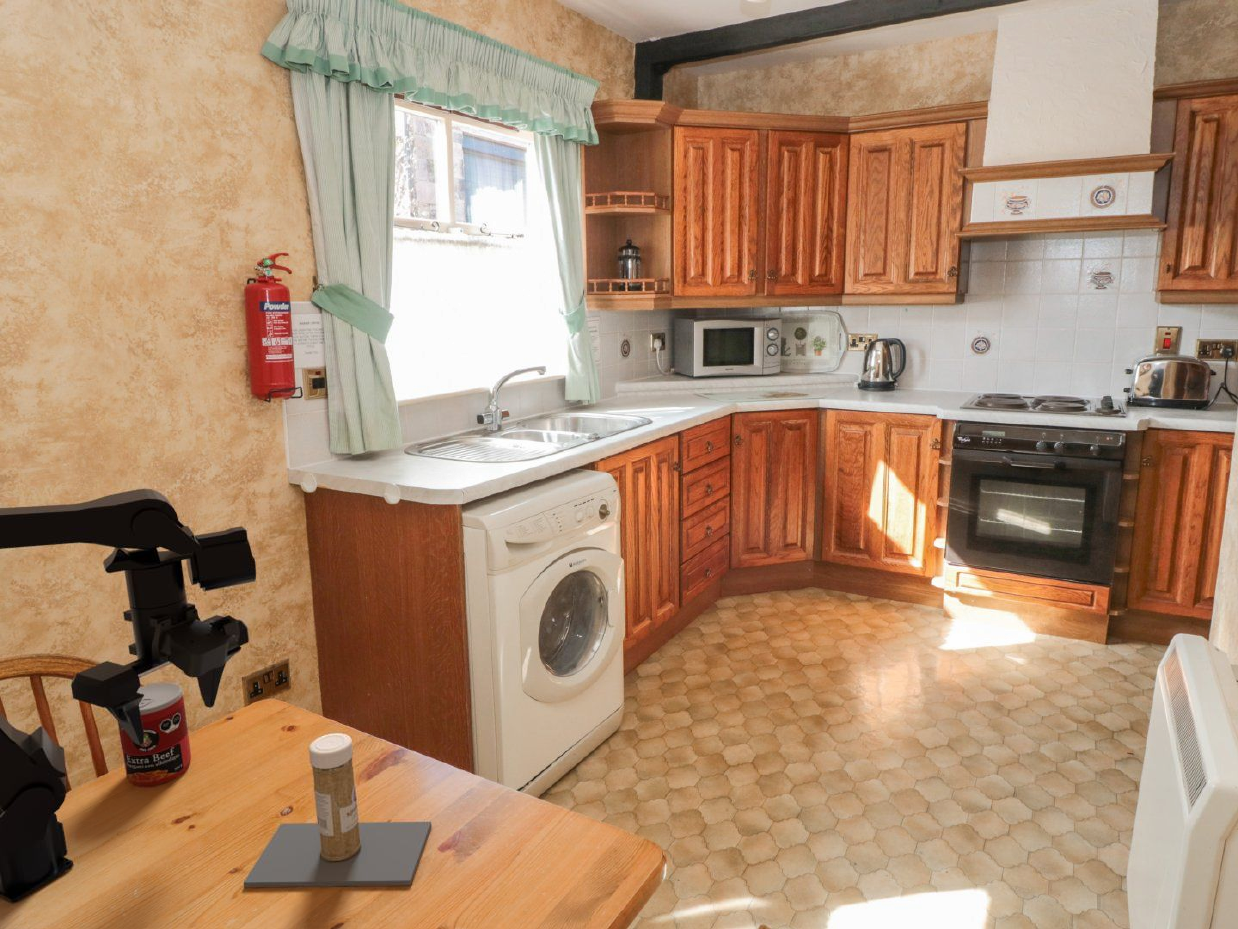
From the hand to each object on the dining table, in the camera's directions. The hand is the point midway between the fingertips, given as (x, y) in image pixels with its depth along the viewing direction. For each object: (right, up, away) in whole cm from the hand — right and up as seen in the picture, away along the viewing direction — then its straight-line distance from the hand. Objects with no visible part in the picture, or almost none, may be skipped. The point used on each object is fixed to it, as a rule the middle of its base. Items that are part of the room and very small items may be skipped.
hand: (176, 724), depth 98 cm
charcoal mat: (+21, -14, -4) cm, 25 cm away
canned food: (-9, -11, +14) cm, 20 cm away
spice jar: (+21, -13, -4) cm, 25 cm away
